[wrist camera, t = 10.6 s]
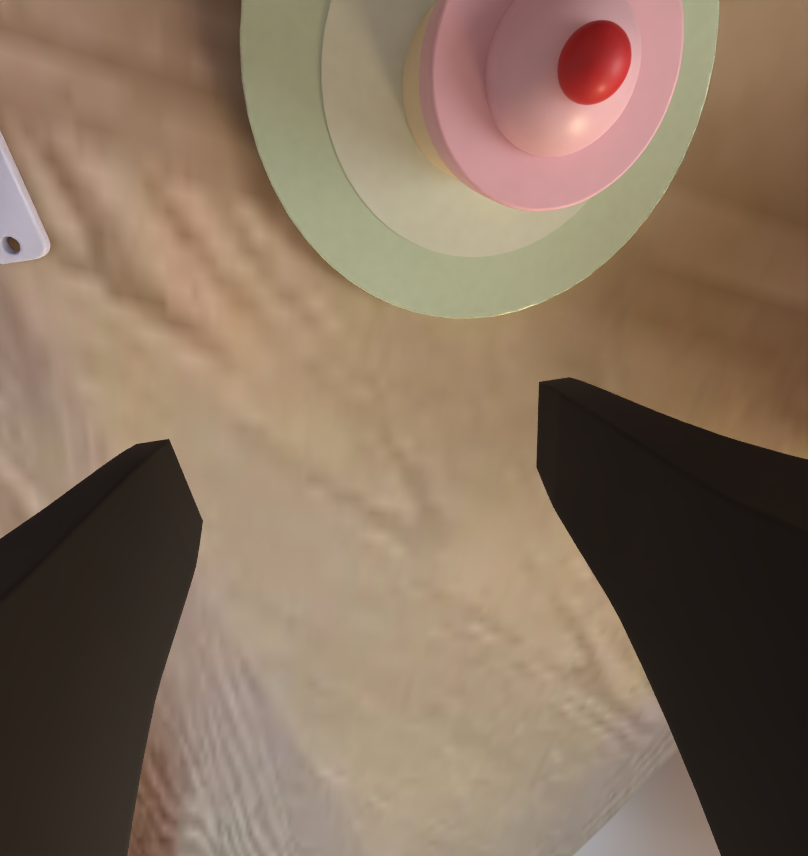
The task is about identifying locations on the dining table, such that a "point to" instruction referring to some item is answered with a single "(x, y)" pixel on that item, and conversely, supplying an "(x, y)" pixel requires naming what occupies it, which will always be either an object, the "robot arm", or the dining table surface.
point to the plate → (427, 164)
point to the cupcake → (540, 92)
